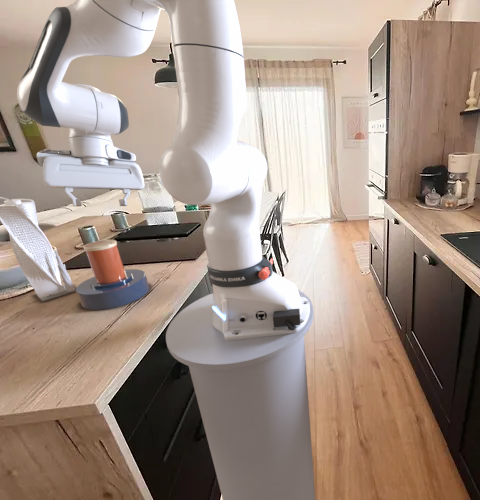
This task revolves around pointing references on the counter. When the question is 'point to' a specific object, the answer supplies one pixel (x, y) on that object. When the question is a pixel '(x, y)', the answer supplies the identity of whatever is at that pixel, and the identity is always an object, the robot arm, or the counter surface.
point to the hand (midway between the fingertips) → (101, 206)
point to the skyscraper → (34, 250)
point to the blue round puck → (113, 291)
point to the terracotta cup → (105, 261)
